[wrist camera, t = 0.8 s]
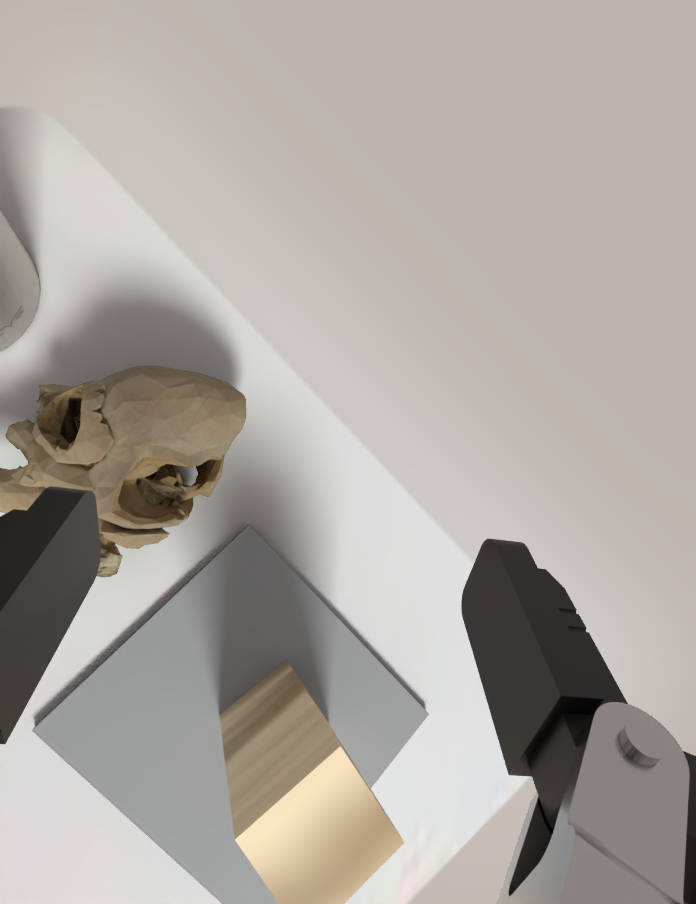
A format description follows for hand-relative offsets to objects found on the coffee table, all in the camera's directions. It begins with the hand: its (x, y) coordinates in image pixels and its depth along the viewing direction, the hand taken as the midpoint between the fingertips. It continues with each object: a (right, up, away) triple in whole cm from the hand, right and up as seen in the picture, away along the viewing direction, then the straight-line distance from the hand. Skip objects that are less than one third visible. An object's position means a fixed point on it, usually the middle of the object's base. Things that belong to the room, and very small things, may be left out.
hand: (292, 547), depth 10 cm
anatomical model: (-12, +2, +20) cm, 24 cm away
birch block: (-3, -15, +21) cm, 26 cm away
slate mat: (-5, -15, +21) cm, 26 cm away
